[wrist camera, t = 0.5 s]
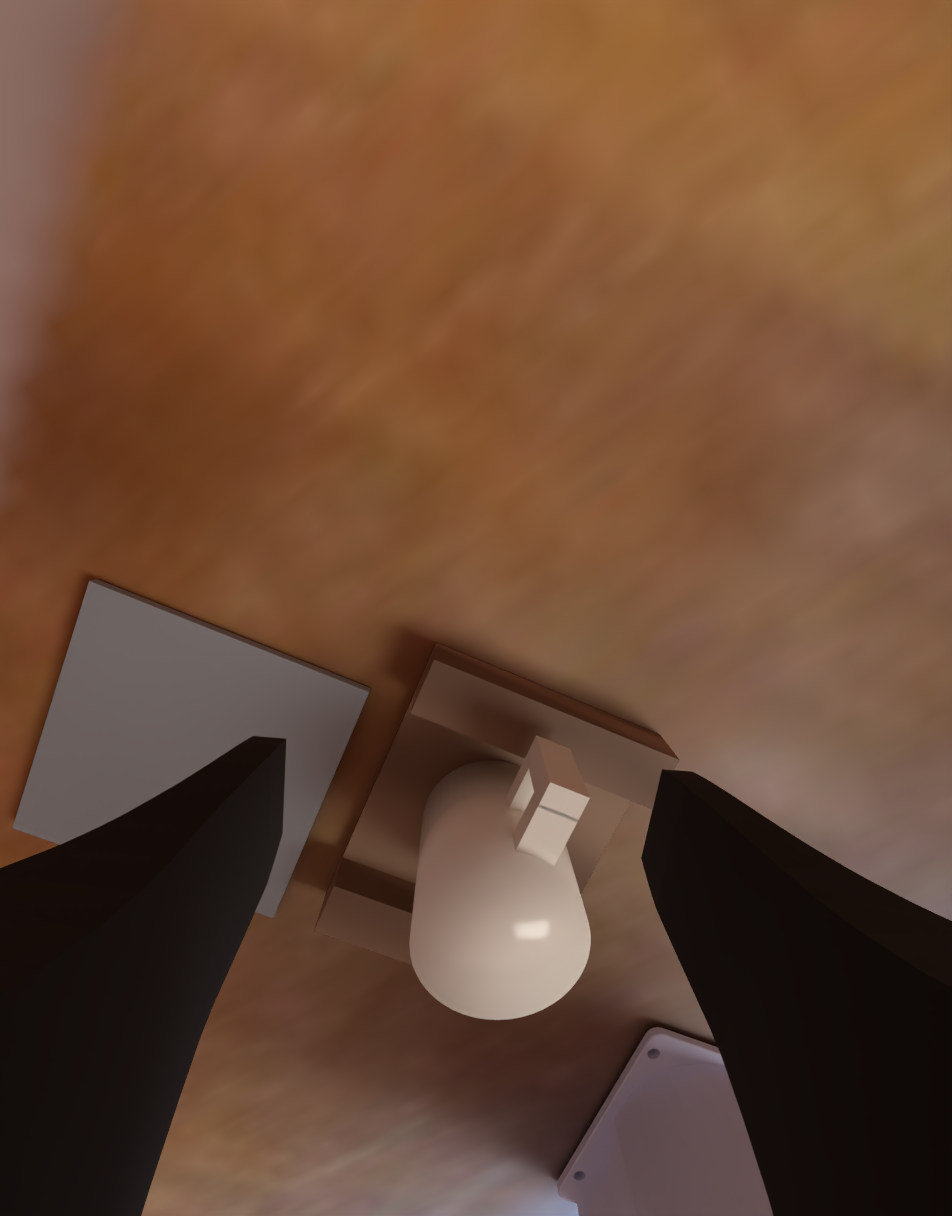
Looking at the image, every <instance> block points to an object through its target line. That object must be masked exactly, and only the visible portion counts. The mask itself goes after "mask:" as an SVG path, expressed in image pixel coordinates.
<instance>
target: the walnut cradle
mask: <svg viewBox="0 0 952 1216" xmlns="http://www.w3.org/2000/svg"><path fill="white" fill-rule="evenodd" d="M536 735H537V736H539V737H542V738H544V739H547V740H549V741H552V742H554V743H557V744H559V745H562V746H564V747H567V748H569V749H570V750H571V752H572V755H573V757H574V760H575V762H576V764H577V767H578V769H579V772H580V774H581V777H582V779H583V782H584V784H585V787H586V789H587V792H588V794H589V797H590V799H589V801H588V803H587V805H586V807H585V809H584V811H583V813H582V814H581V816H580V818H579V820H578V822H577V824H576V826H575V828H574V830H573V832H572V834H571V835H570V837H569V839H568V841H567V843H566V846H567V850H568V853H569V857H570V860H571V863H572V867H573V870H574V874H575V877H576V881H577V884H578V888H579V891H580V894H581V892H582V890H583V888H584V887H585V885H586V883H587V881H588V879H589V877H590V875H591V874H592V872H593V870H594V868H595V866H596V864H597V863H598V861H599V859H600V857H601V855H602V853H603V851H604V850H605V848H606V846H607V844H608V842H609V840H610V838H611V837H612V835H613V833H614V831H615V829H616V827H617V826H618V824H619V822H620V820H621V818H622V816H623V814H624V813H625V811H626V809H627V807H628V805H629V803H630V801H633V802H636V803H638V804H641V805H643V806H646V807H648V808H651V809H653V806H654V802H655V797H656V793H657V789H658V784H659V780H660V776H661V771H662V769H664V770H675V768H676V766H677V764H678V762H679V759H678V757H677V756H676V755H675V753H674V752H673V751H672V749H671V748H670V747H669V746H668V744H667V743H666V742H665V740H664V739H663V738H662V737H661V735H659V734H657V733H654V732H652V731H649V730H647V729H645V728H642V727H640V726H637V725H635V724H633V723H630V722H628V721H625V720H623V719H620V718H618V717H616V716H613V715H611V714H608V713H606V712H603V711H601V710H599V709H596V708H594V707H591V706H589V705H587V704H584V703H582V702H579V701H577V700H574V699H572V698H570V697H567V696H565V695H562V694H560V693H557V692H555V691H553V690H550V689H548V688H545V687H543V686H541V685H538V684H536V683H533V682H531V681H528V680H526V679H524V678H521V677H519V676H516V675H514V674H511V673H509V672H507V671H504V670H502V669H499V668H497V667H495V666H492V665H490V664H487V663H485V662H482V661H480V660H478V659H475V658H473V657H470V656H468V655H465V654H463V653H461V652H458V651H456V650H453V649H451V648H449V647H446V646H444V645H441V644H439V643H436V645H435V647H434V649H433V652H432V654H431V656H430V658H429V661H428V663H427V665H426V668H425V670H424V672H423V674H422V677H421V679H420V681H419V683H418V686H417V688H416V690H415V693H414V695H413V697H412V699H411V702H410V704H409V706H408V708H407V711H406V713H405V715H404V717H403V720H402V722H401V724H400V727H399V729H398V731H397V733H396V736H395V738H394V740H393V742H392V745H391V747H390V749H389V752H388V754H387V756H386V758H385V761H384V763H383V765H382V767H381V770H380V772H379V774H378V776H377V779H376V781H375V783H374V786H373V788H372V790H371V792H370V795H369V797H368V799H367V801H366V804H365V806H364V808H363V810H362V813H361V815H360V817H359V820H358V822H357V824H356V826H355V829H354V831H353V833H352V835H351V838H350V840H349V842H348V845H347V847H346V849H345V851H344V854H343V856H342V858H341V860H340V863H339V865H338V867H337V869H336V872H335V874H334V876H333V879H332V881H331V883H330V885H329V888H328V890H327V892H326V895H325V898H324V901H323V904H322V908H321V911H320V914H319V917H318V920H317V923H316V926H315V930H314V931H315V932H317V933H320V934H323V935H326V936H329V937H332V938H335V939H338V940H341V941H343V942H346V943H349V944H352V945H355V946H358V947H361V948H364V949H367V950H369V951H372V952H375V953H378V954H381V955H384V956H387V957H390V958H393V959H396V960H398V961H401V962H404V963H407V964H410V965H412V961H411V957H410V947H409V942H410V930H411V921H412V912H413V903H414V894H415V885H416V876H417V867H418V858H419V849H420V839H421V830H422V821H423V813H424V808H425V805H426V802H427V799H428V797H429V795H430V794H431V792H432V790H433V789H434V788H435V786H436V785H437V784H438V783H439V782H440V781H441V780H442V779H443V778H444V777H445V776H446V775H448V774H449V773H450V772H452V771H454V770H455V769H457V768H459V767H461V766H464V765H466V764H469V763H473V762H478V761H484V760H497V761H505V762H510V763H513V764H516V765H519V766H522V763H523V761H524V759H525V757H526V755H527V753H528V751H529V749H530V747H531V745H532V743H533V741H534V739H535V737H536Z"/></svg>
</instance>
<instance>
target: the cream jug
mask: <svg viewBox="0 0 952 1216" xmlns="http://www.w3.org/2000/svg"><path fill="white" fill-rule="evenodd" d="M589 799H590V797H589V794H588V792H587V789H586V787H585V784H584V782H583V779H582V777H581V774H580V772H579V769H578V767H577V764H576V762H575V760H574V757H573V755H572V752H571V750H570V749H569V748H567V747H564V746H562V745H559V744H557V743H554V742H552V741H549V740H547V739H544V738H542V737H539V736H537V735H536V737H535V739H534V741H533V743H532V745H531V747H530V749H529V751H528V753H527V755H526V757H525V759H524V761H523V763H522V766H519V765H516V764H513V763H510V762H505V761H497V760H484V761H478V762H473V763H469V764H466V765H464V766H461V767H459V768H457V769H455V770H454V771H452V772H450V773H449V774H448V775H446V776H445V777H444V778H443V779H442V780H441V781H440V782H439V783H438V784H437V785H436V786H435V788H434V789H433V790H432V792H431V794H430V795H429V797H428V799H427V802H426V805H425V808H424V813H423V821H422V830H421V839H420V849H419V858H418V867H417V876H416V885H415V894H414V903H413V912H412V921H411V930H410V942H409V947H410V957H411V961H412V965H413V967H414V970H415V972H416V975H417V976H418V978H419V980H420V982H421V983H422V985H423V986H424V987H425V988H426V990H427V991H428V992H429V993H430V994H431V995H432V996H433V997H434V998H435V999H437V1000H438V1001H439V1002H441V1003H442V1004H443V1005H445V1006H447V1007H449V1008H450V1009H452V1010H454V1011H457V1012H459V1013H461V1014H464V1015H467V1016H471V1017H474V1018H480V1019H487V1020H507V1019H514V1018H520V1017H524V1016H527V1015H531V1014H534V1013H536V1012H538V1011H541V1010H543V1009H545V1008H547V1007H549V1006H550V1005H552V1004H554V1003H555V1002H556V1001H558V1000H559V999H561V998H562V997H563V996H564V995H565V994H566V993H567V992H568V991H569V990H570V989H571V988H572V987H573V986H574V984H575V983H576V982H577V980H578V979H579V977H580V976H581V974H582V972H583V970H584V968H585V966H586V963H587V960H588V957H589V952H590V946H591V934H590V927H589V923H588V919H587V916H586V912H585V909H584V905H583V902H582V898H581V895H580V891H579V888H578V884H577V881H576V877H575V874H574V870H573V867H572V863H571V860H570V857H569V853H568V850H567V846H566V843H567V841H568V839H569V837H570V835H571V834H572V832H573V830H574V828H575V826H576V824H577V822H578V820H579V818H580V816H581V814H582V813H583V811H584V809H585V807H586V805H587V803H588V801H589Z"/></svg>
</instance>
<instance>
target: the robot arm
mask: <svg viewBox="0 0 952 1216" xmlns="http://www.w3.org/2000/svg"><path fill="white" fill-rule="evenodd" d="M285 761H286V739H284V738H272V737H260V736H252V737H250V738H248V739H247V740H245V741H243V742H242V743H240V744H239V745H237V746H235V747H234V748H232V749H231V750H229V751H228V752H226V753H225V754H223V755H222V756H220V757H219V758H217V759H216V760H214V761H213V762H211V763H209V764H208V765H206V766H205V767H203V768H202V769H200V770H198V771H197V772H195V773H194V774H192V775H191V776H189V777H187V778H186V779H184V780H183V781H181V782H180V783H178V784H176V785H175V786H173V787H171V788H169V789H168V790H166V791H164V792H162V793H161V794H159V795H157V796H155V797H154V798H152V799H150V800H148V801H147V802H145V803H143V804H141V805H140V806H138V807H136V808H134V809H132V810H131V811H129V812H127V813H125V814H123V815H121V816H120V817H118V818H116V819H114V820H112V821H110V822H108V823H106V824H104V825H102V826H100V827H98V828H96V829H93V830H91V831H89V832H87V833H85V834H83V835H80V836H78V837H76V838H74V839H72V840H70V841H67V842H65V843H63V844H61V845H58V846H56V847H54V848H51V849H49V850H46V851H44V852H41V853H39V854H36V855H33V856H31V857H28V858H26V859H23V860H21V861H18V862H15V863H13V864H10V865H8V866H5V867H3V868H0V1216H141V1214H142V1211H143V1208H144V1205H145V1202H146V1198H147V1195H148V1192H149V1189H150V1186H151V1182H152V1179H153V1176H154V1173H155V1170H156V1167H157V1164H158V1161H159V1158H160V1155H161V1152H162V1149H163V1146H164V1143H165V1140H166V1137H167V1134H168V1131H169V1128H170V1125H171V1122H172V1119H173V1116H174V1113H175V1110H176V1107H177V1104H178V1101H179V1098H180V1095H181V1092H182V1089H183V1086H184V1083H185V1080H186V1077H187V1075H188V1072H189V1069H190V1066H191V1063H192V1060H193V1057H194V1054H195V1051H196V1048H197V1045H198V1043H199V1040H200V1037H201V1034H202V1031H203V1029H204V1026H205V1024H206V1022H207V1019H208V1017H209V1014H210V1012H211V1009H212V1007H213V1004H214V1002H215V1000H216V997H217V995H218V993H219V991H220V989H221V986H222V984H223V982H224V980H225V977H226V975H227V973H228V971H229V969H230V966H231V964H232V962H233V960H234V958H235V955H236V953H237V951H238V949H239V946H240V944H241V942H242V940H243V938H244V935H245V933H246V931H247V929H248V926H249V924H250V922H251V920H252V917H253V915H254V913H255V911H256V908H257V906H258V904H259V902H260V899H261V897H262V895H263V893H264V890H265V888H266V886H267V883H268V880H269V877H270V874H271V870H272V867H273V864H274V861H275V858H276V854H277V851H278V847H279V844H280V841H281V837H282V834H283V811H284V786H285ZM641 859H642V862H643V866H644V869H645V873H646V877H647V880H648V884H649V887H650V890H651V893H652V897H653V900H654V903H655V906H656V909H657V911H658V914H659V916H660V918H661V921H662V923H663V925H664V927H665V930H666V932H667V934H668V936H669V939H670V941H671V943H672V945H673V948H674V950H675V952H676V954H677V956H678V959H679V961H680V963H681V965H682V967H683V970H684V972H685V974H686V976H687V978H688V981H689V983H690V985H691V987H692V989H693V992H694V994H695V996H696V998H697V1000H698V1003H699V1005H700V1007H701V1009H702V1011H703V1014H704V1016H705V1018H706V1020H707V1022H708V1025H709V1027H710V1029H711V1032H712V1034H713V1037H714V1039H715V1042H716V1044H717V1047H715V1046H712V1045H710V1044H707V1043H704V1042H701V1041H698V1040H695V1039H693V1038H690V1037H687V1036H684V1035H681V1034H678V1033H675V1032H673V1031H670V1030H667V1029H664V1028H660V1027H654V1028H651V1029H649V1030H648V1031H647V1033H646V1034H645V1035H644V1037H643V1039H642V1040H641V1042H640V1044H639V1045H638V1047H637V1049H636V1051H635V1052H634V1054H633V1056H632V1057H631V1059H630V1061H629V1062H628V1064H627V1066H626V1067H625V1069H624V1071H623V1072H622V1074H621V1076H620V1077H619V1079H618V1081H617V1082H616V1084H615V1086H614V1087H613V1089H612V1091H611V1092H610V1094H609V1096H608V1097H607V1099H606V1101H605V1102H604V1104H603V1106H602V1107H601V1109H600V1111H599V1112H598V1114H597V1116H596V1117H595V1119H594V1121H593V1122H592V1124H591V1126H590V1127H589V1129H588V1131H587V1132H586V1134H585V1136H584V1137H583V1139H582V1141H581V1142H580V1144H579V1146H578V1147H577V1149H576V1151H575V1152H574V1154H573V1156H572V1157H571V1159H570V1161H569V1163H568V1164H567V1166H566V1168H565V1169H564V1171H563V1173H562V1174H561V1176H560V1178H559V1179H558V1182H557V1187H558V1193H559V1195H560V1197H561V1198H563V1199H565V1200H568V1201H571V1202H574V1203H577V1206H578V1212H579V1216H952V921H950V920H948V919H946V918H944V917H941V916H939V915H937V914H935V913H933V912H931V911H929V910H927V909H925V908H922V907H920V906H918V905H916V904H914V903H912V902H910V901H908V900H906V899H904V898H902V897H900V896H898V895H897V894H895V893H893V892H891V891H889V890H887V889H885V888H883V887H881V886H879V885H877V884H875V883H873V882H871V881H870V880H868V879H866V878H864V877H862V876H860V875H859V874H857V873H855V872H853V871H851V870H850V869H848V868H846V867H844V866H843V865H841V864H839V863H838V862H836V861H834V860H833V859H831V858H829V857H828V856H826V855H824V854H823V853H821V852H819V851H818V850H816V849H814V848H813V847H811V846H809V845H808V844H806V843H804V842H803V841H801V840H800V839H798V838H797V837H795V836H793V835H792V834H790V833H789V832H787V831H786V830H784V829H782V828H781V827H779V826H778V825H776V824H775V823H773V822H772V821H770V820H769V819H767V818H766V817H764V816H763V815H761V814H759V813H758V812H756V811H755V810H753V809H752V808H750V807H749V806H747V805H746V804H744V803H743V802H741V801H740V800H738V799H737V798H735V797H734V796H732V795H731V794H729V793H728V792H726V791H725V790H723V789H721V788H720V787H718V786H717V785H715V784H713V783H712V782H710V781H708V780H707V779H705V778H703V777H701V776H699V775H698V774H696V773H694V772H689V771H676V770H664V769H662V771H661V776H660V780H659V784H658V789H657V793H656V797H655V802H654V806H653V810H652V815H651V819H650V823H649V828H648V832H647V836H646V841H645V845H644V849H643V853H642V858H641ZM651 1049H653V1050H651Z"/></svg>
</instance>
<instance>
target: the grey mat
mask: <svg viewBox="0 0 952 1216" xmlns="http://www.w3.org/2000/svg"><path fill="white" fill-rule="evenodd" d="M370 689H371V688H369V687H367V686H364V685H362V684H359V683H357V682H354V681H351V680H349V679H346V678H344V677H341V676H339V675H336V674H334V673H331V672H329V671H326V670H324V669H321V668H319V667H316V666H314V665H311V664H309V663H306V662H304V661H301V660H299V659H296V658H294V657H291V656H289V655H286V654H284V653H281V652H279V651H276V650H274V649H271V648H269V647H266V646H264V645H261V644H259V643H256V642H254V641H251V640H249V639H246V638H244V637H241V636H239V635H236V634H234V633H231V632H229V631H226V630H224V629H221V628H219V627H216V626H213V625H211V624H208V623H206V622H203V621H201V620H198V619H196V618H193V617H191V616H188V615H186V614H183V613H181V612H178V611H176V610H173V609H171V608H168V607H166V606H163V605H161V604H158V603H156V602H153V601H151V600H148V599H146V598H143V597H141V596H138V595H136V594H133V593H131V592H128V591H126V590H123V589H121V588H118V587H116V586H113V585H111V584H108V583H106V582H103V581H101V580H98V579H94V580H90V581H89V583H88V586H87V590H86V593H85V596H84V599H83V602H82V606H81V609H80V612H79V615H78V619H77V622H76V625H75V628H74V631H73V635H72V638H71V641H70V644H69V648H68V651H67V654H66V657H65V660H64V664H63V667H62V670H61V673H60V677H59V680H58V683H57V686H56V689H55V693H54V696H53V699H52V702H51V706H50V709H49V712H48V715H47V718H46V722H45V725H44V728H43V731H42V735H41V738H40V741H39V744H38V747H37V751H36V754H35V757H34V760H33V764H32V767H31V770H30V773H29V776H28V780H27V783H26V786H25V789H24V793H23V796H22V799H21V802H20V805H19V809H18V812H17V815H16V818H15V822H14V825H13V829H16V830H19V831H21V832H24V833H27V834H30V835H33V836H36V837H39V838H42V839H45V840H47V841H50V842H53V843H56V844H59V845H61V844H63V843H65V842H67V841H70V840H72V839H74V838H76V837H78V836H80V835H83V834H85V833H87V832H89V831H91V830H93V829H96V828H98V827H100V826H102V825H104V824H106V823H108V822H110V821H112V820H114V819H116V818H118V817H120V816H121V815H123V814H125V813H127V812H129V811H131V810H132V809H134V808H136V807H138V806H140V805H141V804H143V803H145V802H147V801H148V800H150V799H152V798H154V797H155V796H157V795H159V794H161V793H162V792H164V791H166V790H168V789H169V788H171V787H173V786H175V785H176V784H178V783H180V782H181V781H183V780H184V779H186V778H187V777H189V776H191V775H192V774H194V773H195V772H197V771H198V770H200V769H202V768H203V767H205V766H206V765H208V764H209V763H211V762H213V761H214V760H216V759H217V758H219V757H220V756H222V755H223V754H225V753H226V752H228V751H229V750H231V749H232V748H234V747H235V746H237V745H239V744H240V743H242V742H243V741H245V740H247V739H248V738H250V737H252V736H260V737H272V738H284V739H286V761H285V786H284V811H283V834H282V837H281V841H280V844H279V847H278V851H277V854H276V858H275V861H274V864H273V867H272V870H271V874H270V877H269V880H268V883H267V886H266V888H265V890H264V893H263V895H262V897H261V899H260V902H259V904H258V906H257V908H256V911H255V912H256V913H259V914H262V915H264V916H267V917H270V918H274V915H275V913H276V911H277V908H278V906H279V904H280V901H281V899H282V897H283V894H284V892H285V889H286V887H287V885H288V882H289V880H290V878H291V875H292V873H293V871H294V868H295V866H296V864H297V861H298V859H299V856H300V854H301V852H302V849H303V847H304V845H305V842H306V840H307V838H308V835H309V833H310V831H311V828H312V826H313V824H314V821H315V819H316V816H317V814H318V812H319V809H320V807H321V805H322V802H323V800H324V798H325V795H326V793H327V791H328V788H329V786H330V783H331V781H332V779H333V776H334V774H335V772H336V769H337V767H338V765H339V762H340V760H341V758H342V755H343V753H344V750H345V748H346V746H347V743H348V741H349V739H350V736H351V734H352V732H353V729H354V727H355V725H356V722H357V720H358V717H359V715H360V713H361V710H362V708H363V706H364V703H365V701H366V699H367V696H368V694H369V691H370Z"/></svg>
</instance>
